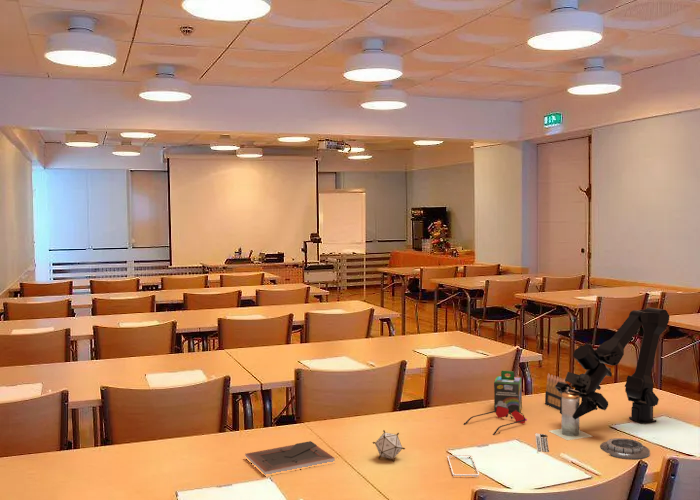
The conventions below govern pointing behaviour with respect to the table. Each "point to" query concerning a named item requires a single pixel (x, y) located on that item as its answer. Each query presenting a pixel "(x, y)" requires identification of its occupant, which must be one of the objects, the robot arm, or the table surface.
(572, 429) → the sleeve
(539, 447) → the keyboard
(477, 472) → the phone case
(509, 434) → the table surface
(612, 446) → the hub flange
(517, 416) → the glasses
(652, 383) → the robot arm
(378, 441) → the game die
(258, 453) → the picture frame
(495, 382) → the chalk box
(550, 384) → the ammunition clip
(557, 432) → the stand pad
